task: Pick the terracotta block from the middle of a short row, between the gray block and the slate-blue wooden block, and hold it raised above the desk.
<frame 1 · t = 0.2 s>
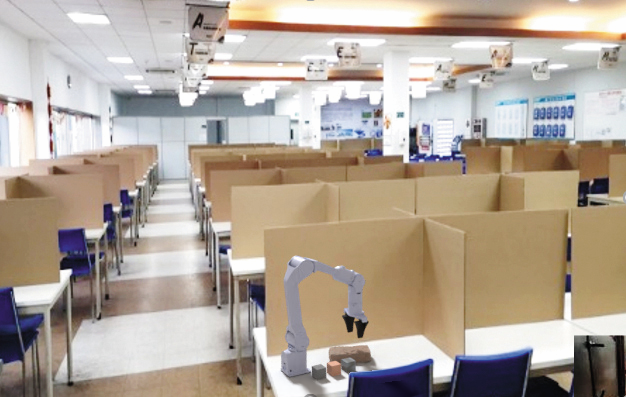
hand: (355, 334, 226), 10 cm above the table, tool pointing down, fingers open, 7 cm apart
slate block: (348, 370, 216), on the table
terracotta block: (333, 373, 213), on the table
brick: (349, 360, 226), on the table
gray block: (319, 377, 210), on the table
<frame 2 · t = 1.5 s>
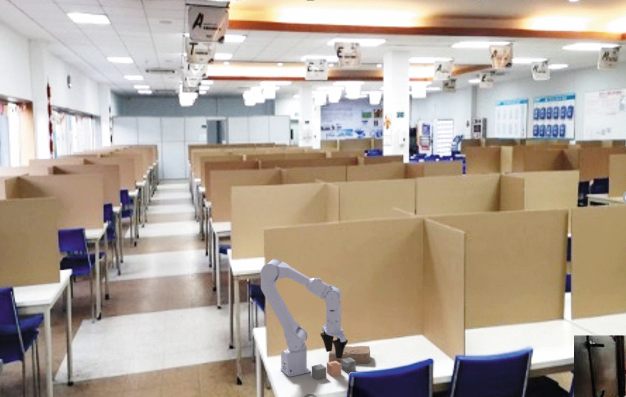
hand: (333, 354, 212), 7 cm above the table, tool pointing down, fingers open, 7 cm apart
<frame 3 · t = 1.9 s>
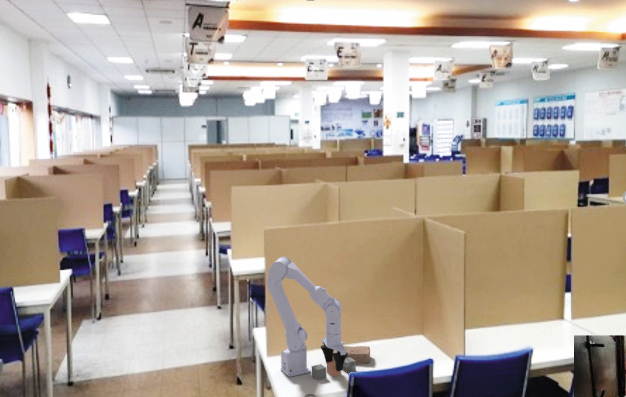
hand: (334, 367, 212), 2 cm above the table, tool pointing down, fingers open, 7 cm apart
nothing on the table moved.
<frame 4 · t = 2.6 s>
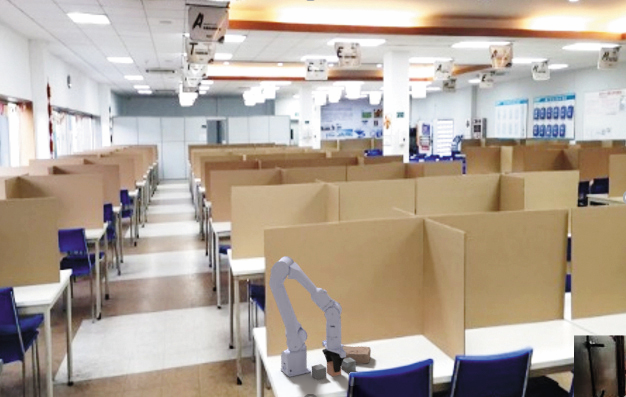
hand: (333, 369, 212), 1 cm above the table, tool pointing down, fingers closed on terracotta block, 4 cm apart
terracotta block: (334, 373, 213), on the table, touching gripper
everything else where it was.
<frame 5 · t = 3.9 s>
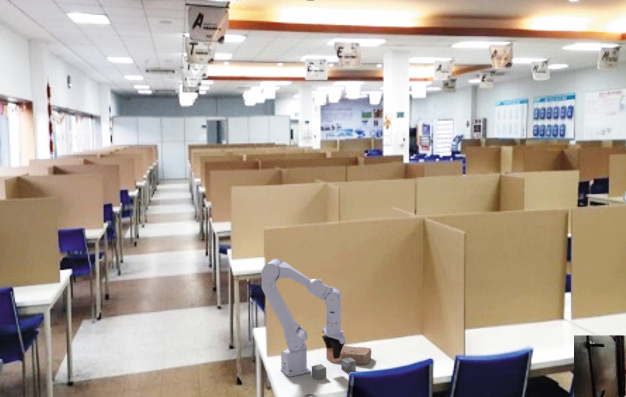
hand: (333, 356, 212), 7 cm above the table, tool pointing down, fingers closed on terracotta block, 4 cm apart
terracotta block: (333, 359, 212), point 5 cm above the table, touching gripper
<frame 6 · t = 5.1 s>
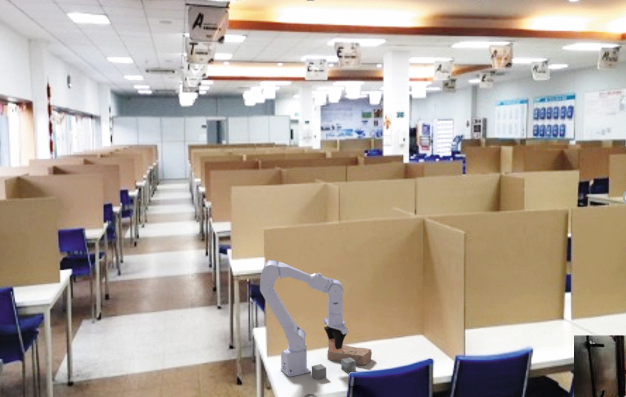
hand: (335, 346, 214), 9 cm above the table, tool pointing down, fingers closed on terracotta block, 4 cm apart
terracotta block: (335, 350, 214), point 8 cm above the table, touching gripper
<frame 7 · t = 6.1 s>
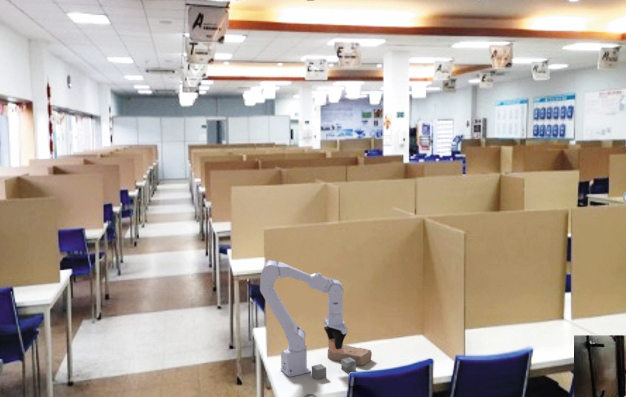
hand: (335, 346, 214), 9 cm above the table, tool pointing down, fingers closed on terracotta block, 4 cm apart
terracotta block: (335, 350, 214), point 8 cm above the table, touching gripper
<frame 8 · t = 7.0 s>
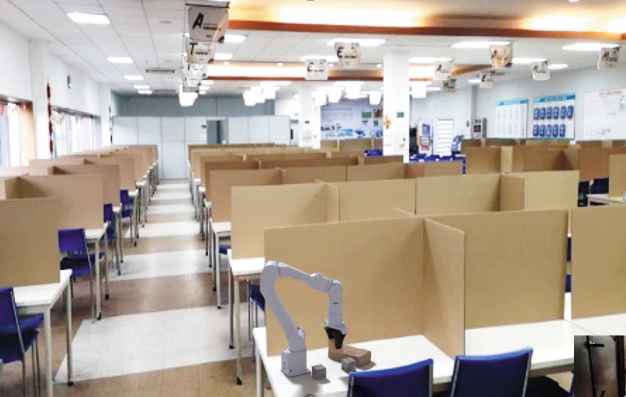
hand: (335, 346, 214), 9 cm above the table, tool pointing down, fingers closed on terracotta block, 4 cm apart
terracotta block: (335, 350, 214), point 8 cm above the table, touching gripper
at the end: terracotta block point 8.0 cm above the table; gray block moved 0.1 cm from its start; slate block moved 0.1 cm from its start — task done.
